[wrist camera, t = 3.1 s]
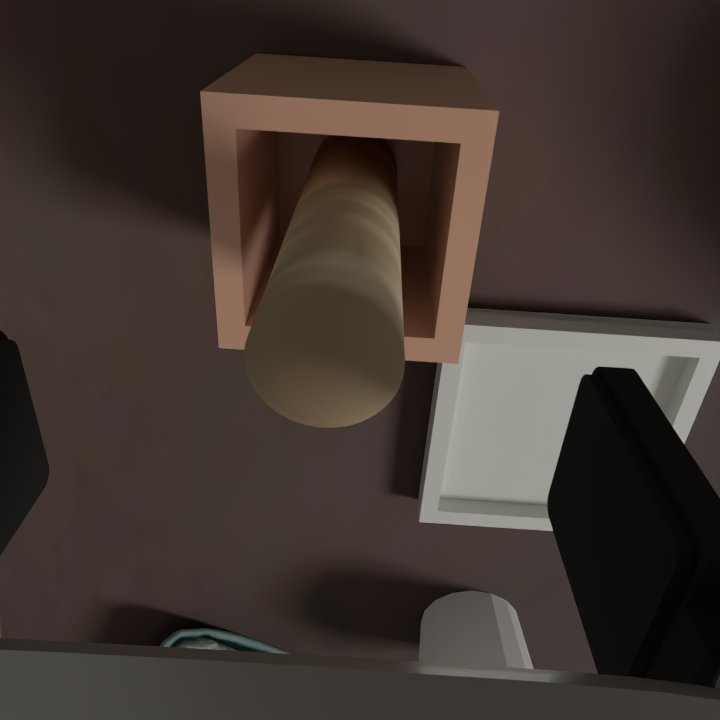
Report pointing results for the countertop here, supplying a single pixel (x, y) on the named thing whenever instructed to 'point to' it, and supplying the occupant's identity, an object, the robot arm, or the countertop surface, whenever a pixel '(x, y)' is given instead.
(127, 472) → the countertop surface
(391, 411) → the countertop surface
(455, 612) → the shot glass
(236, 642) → the towel
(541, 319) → the tray
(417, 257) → the cup
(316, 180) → the dowel
